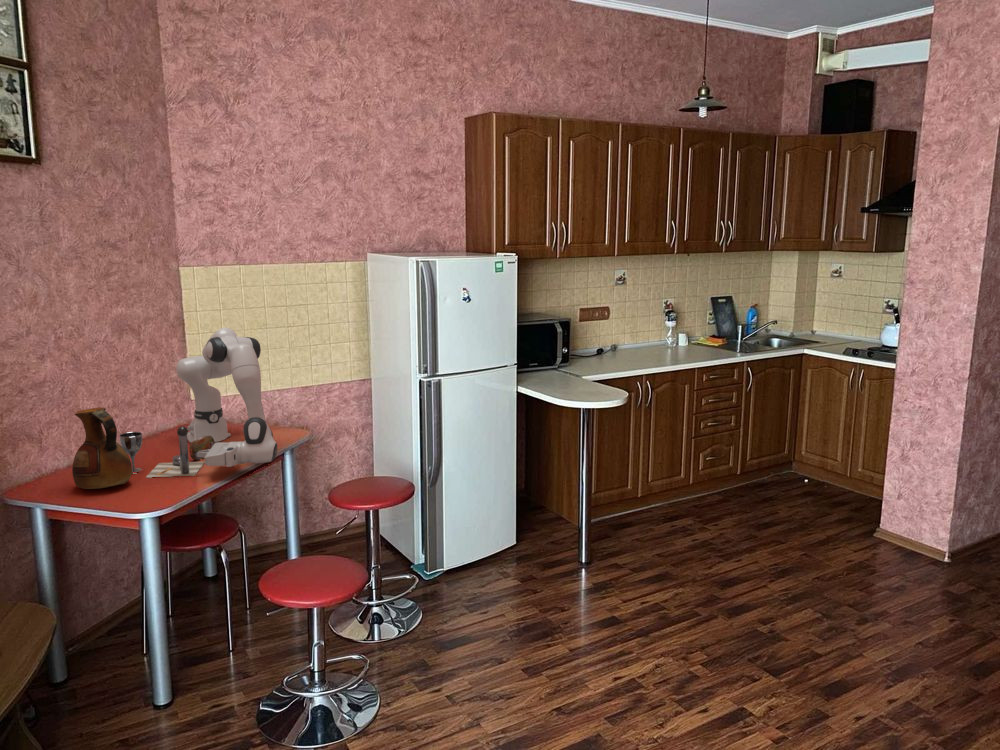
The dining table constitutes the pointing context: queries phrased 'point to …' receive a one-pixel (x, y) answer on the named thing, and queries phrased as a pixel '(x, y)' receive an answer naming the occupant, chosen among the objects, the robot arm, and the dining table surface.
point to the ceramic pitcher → (100, 453)
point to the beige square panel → (174, 470)
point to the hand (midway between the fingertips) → (197, 454)
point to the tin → (201, 446)
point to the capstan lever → (182, 450)
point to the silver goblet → (131, 445)
